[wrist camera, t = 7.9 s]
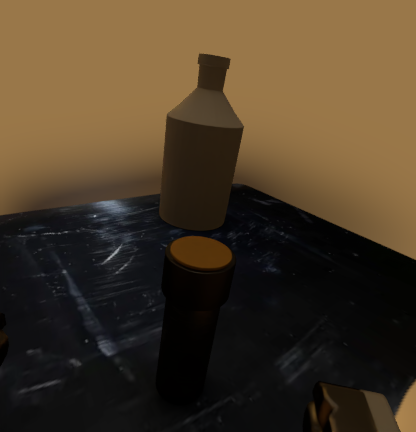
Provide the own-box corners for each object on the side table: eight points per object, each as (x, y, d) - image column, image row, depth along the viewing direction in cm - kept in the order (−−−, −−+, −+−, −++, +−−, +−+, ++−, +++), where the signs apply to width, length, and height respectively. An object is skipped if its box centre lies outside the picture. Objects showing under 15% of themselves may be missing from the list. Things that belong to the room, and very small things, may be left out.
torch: (161, 419, 22) (181, 275, 18) (143, 367, 26) (156, 236, 22) (218, 398, 25) (250, 265, 20) (194, 353, 28) (216, 231, 24)
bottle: (142, 213, 53) (155, 45, 44) (183, 197, 63) (201, 57, 53) (203, 238, 48) (233, 55, 39) (237, 217, 58) (267, 66, 48)
